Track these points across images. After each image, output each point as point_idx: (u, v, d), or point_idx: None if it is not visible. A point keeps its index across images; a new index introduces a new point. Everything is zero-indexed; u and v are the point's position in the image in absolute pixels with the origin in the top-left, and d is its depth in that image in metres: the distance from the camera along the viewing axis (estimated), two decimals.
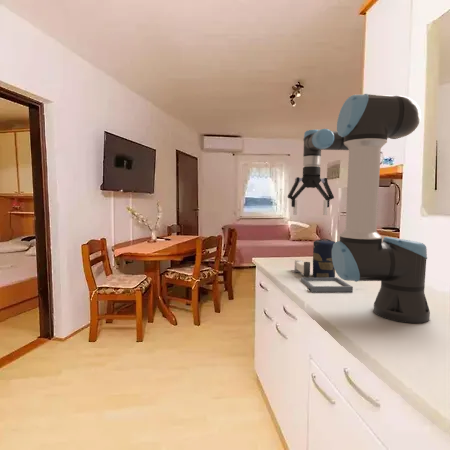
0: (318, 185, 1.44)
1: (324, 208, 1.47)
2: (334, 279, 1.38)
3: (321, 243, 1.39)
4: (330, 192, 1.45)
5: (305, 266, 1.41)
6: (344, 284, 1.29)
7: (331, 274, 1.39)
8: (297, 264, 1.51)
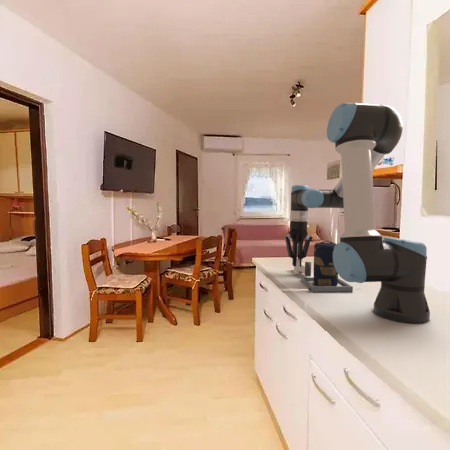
0: None
1: None
2: None
3: (323, 246, 1.26)
4: None
5: (306, 266, 1.41)
6: (344, 284, 1.29)
7: (333, 280, 1.26)
8: None
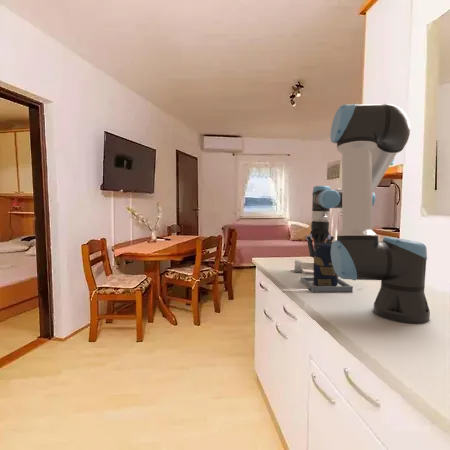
0: None
1: None
2: None
3: (323, 246, 1.26)
4: None
5: None
6: (344, 284, 1.29)
7: (333, 280, 1.26)
8: (304, 264, 1.52)
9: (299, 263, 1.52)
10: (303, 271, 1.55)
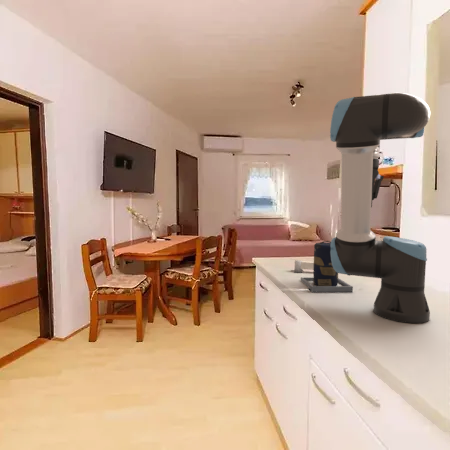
0: None
1: None
2: None
3: (323, 246, 1.26)
4: None
5: None
6: (344, 284, 1.29)
7: (333, 280, 1.26)
8: (305, 264, 1.52)
9: (299, 263, 1.52)
10: (303, 271, 1.55)
